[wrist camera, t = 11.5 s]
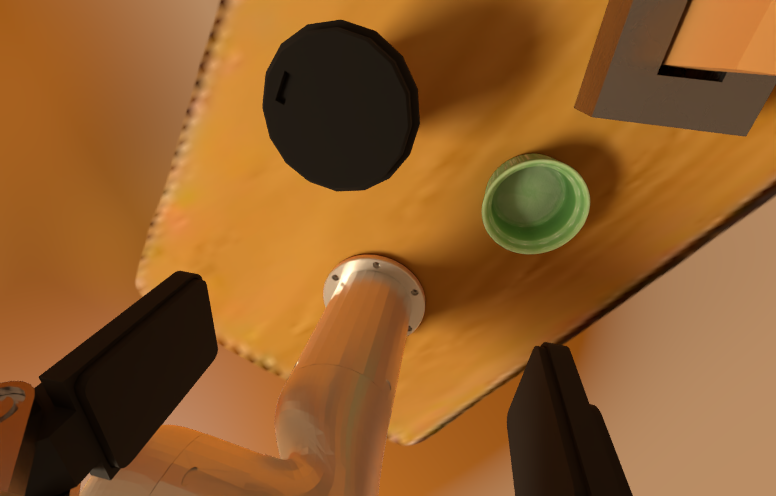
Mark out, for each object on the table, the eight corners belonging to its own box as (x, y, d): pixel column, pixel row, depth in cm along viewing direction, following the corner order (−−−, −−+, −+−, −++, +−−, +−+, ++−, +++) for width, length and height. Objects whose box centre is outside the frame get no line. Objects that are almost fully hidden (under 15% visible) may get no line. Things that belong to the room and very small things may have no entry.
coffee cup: (301, 120, 36) (236, 148, 26) (345, 2, 31) (285, -22, 20) (396, 175, 37) (371, 223, 27) (455, 70, 32) (452, 79, 21)
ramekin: (466, 219, 38) (467, 237, 34) (501, 134, 34) (507, 145, 30) (548, 245, 38) (558, 267, 34) (595, 164, 33) (612, 178, 30)
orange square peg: (705, 8, 27) (858, -19, 17) (677, 68, 29) (798, 77, 18) (662, 3, 27) (786, -27, 17) (638, 62, 29) (735, 69, 19)
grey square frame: (705, 124, 30) (746, 136, 26) (573, 108, 31) (591, 116, 27) (795, -53, 25) (866, -75, 20) (630, -65, 26) (664, -89, 21)
